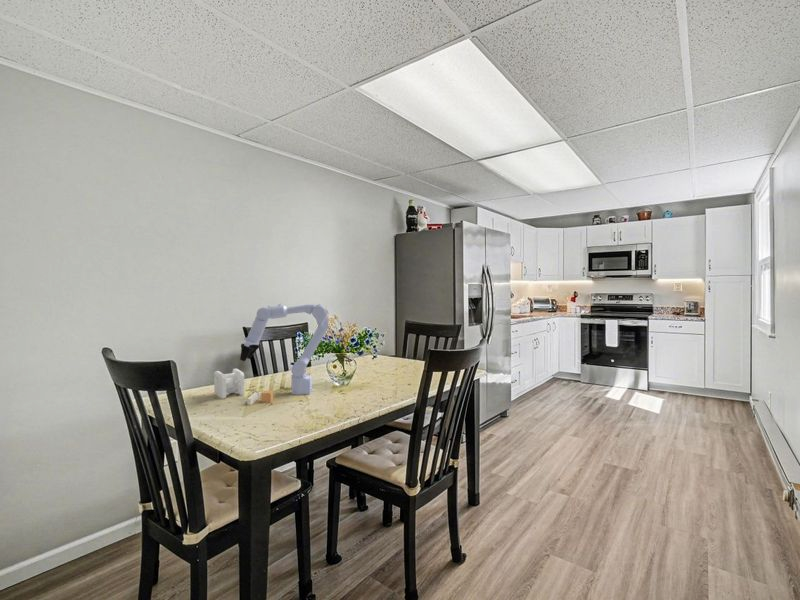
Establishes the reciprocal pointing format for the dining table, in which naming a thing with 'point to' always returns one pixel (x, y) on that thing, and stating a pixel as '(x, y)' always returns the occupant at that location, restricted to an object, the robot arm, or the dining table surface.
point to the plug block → (267, 396)
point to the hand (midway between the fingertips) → (245, 359)
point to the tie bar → (253, 398)
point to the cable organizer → (228, 383)
